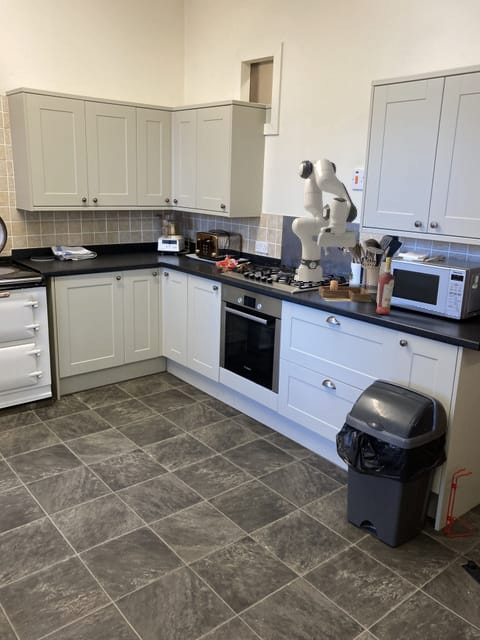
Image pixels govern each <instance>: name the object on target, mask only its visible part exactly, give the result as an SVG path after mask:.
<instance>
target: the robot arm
mask: <svg viewBox="0 0 480 640" xmlns="http://www.w3.org/2000/svg"><path fill="white" fill-rule="evenodd" d="M336 173H337V165H336V164H335V162H333V161H330V160H329V159H327V158H321V159H318V160H303V161H301V163H300V165H299V168H298V175H299V176H300V178H301V179H305V182H304V186H303V208H304V210H305V211H307V212H309V213H310V214H311V215H312V216H311V217H309V216H302V217H297V218H295V219H293V221H292V224H291V228H292V229H291V230H292V232H293V233H294V234H295V235H296V236H297V237H298V238H299V240H300V242H301V247H302V248H301V249H302V251H301V252H302V253H301V255H302V256H301V258H300V265H299V267H298V268H295V275H294V278H293V279H294V280H296V281H295V282H298V281H303V282H309V281H313V282H318V281H324V282H325V279H324V278H323V267H322V266H321V262H322V259H321V253H322V252H321V250H322V247H323V250H324V252H325V255H324V256H329V254H330V252H329V251H328V250H327V249H328V248H344V251H342V256H346V255H347V252H348V251H349V250H350V249H349V248H355V247H356V243H357V241H356V238H357V231H356V230H355V229H347V223H348V224H350V223H352V222H354V221H355V220H356V219H357V216H358V208H357V206H356V205H355V204H354V202H353V200H352V199H351V196H350V194H349V191H348V190H347V187H346V186H345V183H344V182H342V181H341V180H340V179H339V178H338V177H337V175H336ZM323 192H325V193H329V194H331V195H334V196H336V197H333V198H332V199H331V202H330V203H327V204H326V205H325V206H324V203H323V202H324V201H323ZM313 237H317V241H315V240H313ZM294 280H293V281H294ZM303 282H302V283H303Z"/></svg>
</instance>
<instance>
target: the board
mask: <svg viewBox="0 0 480 640" xmlns="http://www.w3.org/2000/svg"><path fill="white" fill-rule="evenodd" d="M321 298H322V299H323V300H324V301H325V302H352V303H353V302H355V303H356V301H351V300H350V299H349V298H323V297H322V296H321ZM370 302H371V303H373V300H372V299H371V300H370ZM370 302H369V303H370Z"/></svg>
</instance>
